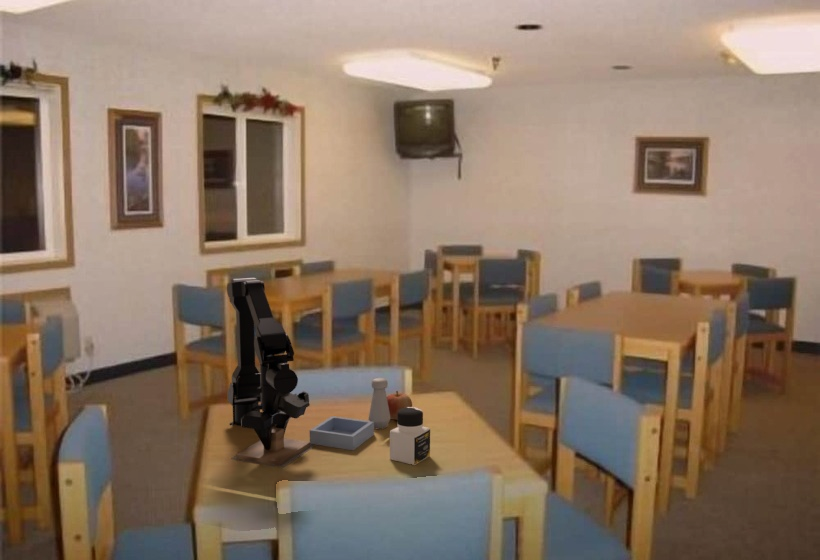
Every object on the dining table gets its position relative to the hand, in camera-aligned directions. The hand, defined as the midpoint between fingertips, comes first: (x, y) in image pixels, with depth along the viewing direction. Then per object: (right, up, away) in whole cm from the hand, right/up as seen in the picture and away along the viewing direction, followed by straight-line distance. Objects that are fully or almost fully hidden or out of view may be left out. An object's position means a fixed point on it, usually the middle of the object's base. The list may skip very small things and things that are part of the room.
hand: (273, 445), depth 184 cm
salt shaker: (+25, 0, +21) cm, 32 cm away
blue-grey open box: (+16, -1, +10) cm, 18 cm away
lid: (0, -2, 0) cm, 2 cm away
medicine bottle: (+33, -3, -1) cm, 33 cm away
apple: (+29, +1, +28) cm, 40 cm away
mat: (0, -2, 0) cm, 2 cm away
